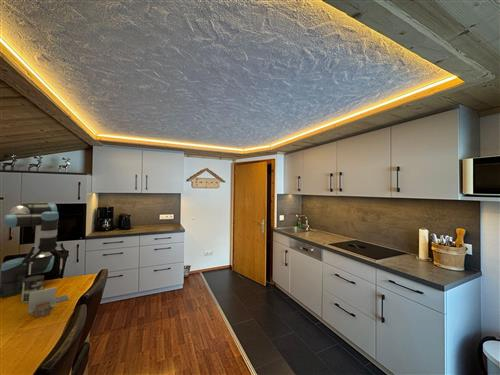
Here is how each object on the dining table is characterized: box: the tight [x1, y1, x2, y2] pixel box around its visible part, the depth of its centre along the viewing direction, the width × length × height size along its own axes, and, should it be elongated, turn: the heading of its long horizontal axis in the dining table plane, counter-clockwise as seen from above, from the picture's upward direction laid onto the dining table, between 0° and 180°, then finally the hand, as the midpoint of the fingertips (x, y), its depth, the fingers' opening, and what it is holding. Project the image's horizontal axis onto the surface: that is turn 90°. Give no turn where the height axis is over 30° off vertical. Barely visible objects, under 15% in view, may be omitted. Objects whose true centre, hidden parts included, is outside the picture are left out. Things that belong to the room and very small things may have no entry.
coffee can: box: [20, 274, 45, 303], centre depth 139 cm, size 10×10×14 cm
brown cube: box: [34, 301, 51, 319], centre depth 123 cm, size 6×6×6 cm
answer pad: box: [55, 294, 69, 304], centre depth 139 cm, size 8×8×1 cm
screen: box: [27, 286, 57, 315], centre depth 128 cm, size 5×12×12 cm, turn 138°
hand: (45, 271), depth 124 cm, fingers open, 13 cm apart
